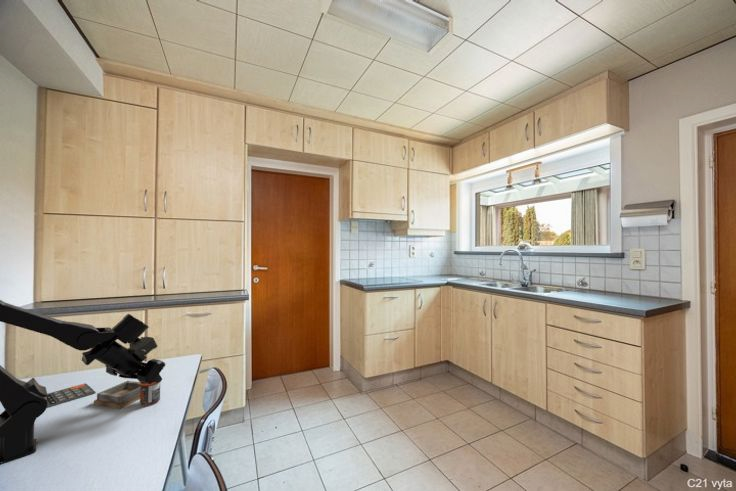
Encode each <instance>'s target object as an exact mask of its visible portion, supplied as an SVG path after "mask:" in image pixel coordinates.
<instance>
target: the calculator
mask: <svg viewBox="0 0 736 491" xmlns="http://www.w3.org/2000/svg"><path fill="white" fill-rule="evenodd" d="M94 394H96V391H95V390H94V389H93V388H92V387H91V386H90V385H88V384H87V383H86V382H85V383H82V384H78V385H74V386H71V387H67V388H64V389H59V390H55V391H53V392H47V397H46V398H47V403H48V405H47V408H46V409H48V408H52V407H54V406H55V407H56V406H58V405H61V404H65V403H69V402H71V401H76V400H78V399H81V398H82V399H83V398H85V397H87V396H91V395H94Z"/></svg>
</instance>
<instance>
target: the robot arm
mask: <svg viewBox="0 0 736 491" xmlns="http://www.w3.org/2000/svg"><path fill="white" fill-rule="evenodd" d="M0 322H1V323H4V324H8V325H11V326H14V327H19V328H22V329H25V330H29V331H32V332H34V333H39V334H42V335H45V336H49V337H51V338H54V339H55V340H57V341H59V342H61V343H62V344H65V345H66V346H68V347H71V348H73V349H75V350H77V351H80V352H81V351H82V353H81V354H82V357H81V362H83V363H84V365H85V366H89V365H90V364H92V363H93V362H94V361H95V360H96V361H98V362H100V363H101V364H103V365H105V367H106V368H105V372H106V374H109V375H110V376H111V375H112V376H115V377H117V376H118V377H119V378H121V379H129V380H130V379H131V380H134V379H135V380H137V381H138V382H143V383H147V384H151V383H153V382H160V383H162V380H163V378H162V376H161V374H160V373H161V372H162V370H164V368H165V366H166V363H165V362H164V361H163V360H160V359H155V358H153V359H150V360H148V361H147V362H144V361H146V359H147V358H148V357H147V356H146V355H148V354H149V353H150V352H152V351H153V350H154V349H157V348H158V345H157V342H156V340H155V337H153V336H142V335H143V333H145V332H146V331H147V330H148V329H149V328H150V326H148V325H147V324H146V323H144V322H143V321H141V320H140V319H138V318H136V317H134V316H133V315H132V314H131V313H127V314H126V315H125V316H123V318H122V319H121V320H120V321H119V322H118V323H117V324H116V325H114V326H112V328H111V327H95V326H94V325H91V324H87V323H81V322H77V321H76V322H75V321H66V320H60V319H57V318H54V317H51V316H49V315H44V314H43V313H39V312H35V311H32V310H30V309H27V308H23V307H20V306H17V305H14V304H11V303H7V302H5V301H3V300H1V299H0ZM140 336H142V337H140ZM117 340H118V341H120V342H121V343H122V344H124V345H127V344H128V345H129V347H128V348H127V347H126V346H123V345H122V344H121V343H119V342H117ZM47 394H48V392H47V387H46V386H43V385H41V384H39V382H37V380H36V379H35V377H31V378H30V380H28V381H27V382H26V381H25V380H21V379H18V378H17V377H16V376H15V375H13V374H12V373H11V372H9V371H8V370H7V369H6V368H5V367H3V366H2V365H1V364H0V404H1V406H2V407H3V409H4V410H3V411H2V412H1V413H0V462H4V461H7V462H9V460H10V461H12V460H15V459H18V458H21V457H24V456H28V455H31V454H34V453H36V451H37V438H35V422H36V420H37V418H39V417H41V415H43V414H44V413H45V411H46V410H47V409H48V408H47V405H48V403H47V398H46V397H47ZM4 463H5V462H4Z"/></svg>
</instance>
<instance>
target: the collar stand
mask: <svg viewBox="0 0 736 491" xmlns="http://www.w3.org/2000/svg"><path fill="white" fill-rule="evenodd" d="M137 401H140V382H139V381H135V380H126V381H124V382H121V383H119V384H116V385H115V386H112V387H110V388H107V389H105V390H103V391H100V392H98V393H97V394H96V399H95V400H93V405H96V406H101V407H106V408H112V409H118V410H121V409H123V408H125V407H127V406H128V405H130V404H133V403H135V402H137Z"/></svg>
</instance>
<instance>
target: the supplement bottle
mask: <svg viewBox="0 0 736 491" xmlns="http://www.w3.org/2000/svg"><path fill="white" fill-rule="evenodd" d="M160 399H161V382H153V383H151V384H147V383H143V382H140V399H139V404H140V406H143V407H146V406H147V407H148V406H152V405H155V404H157V403H158V402H159V401H161V400H160Z"/></svg>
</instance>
